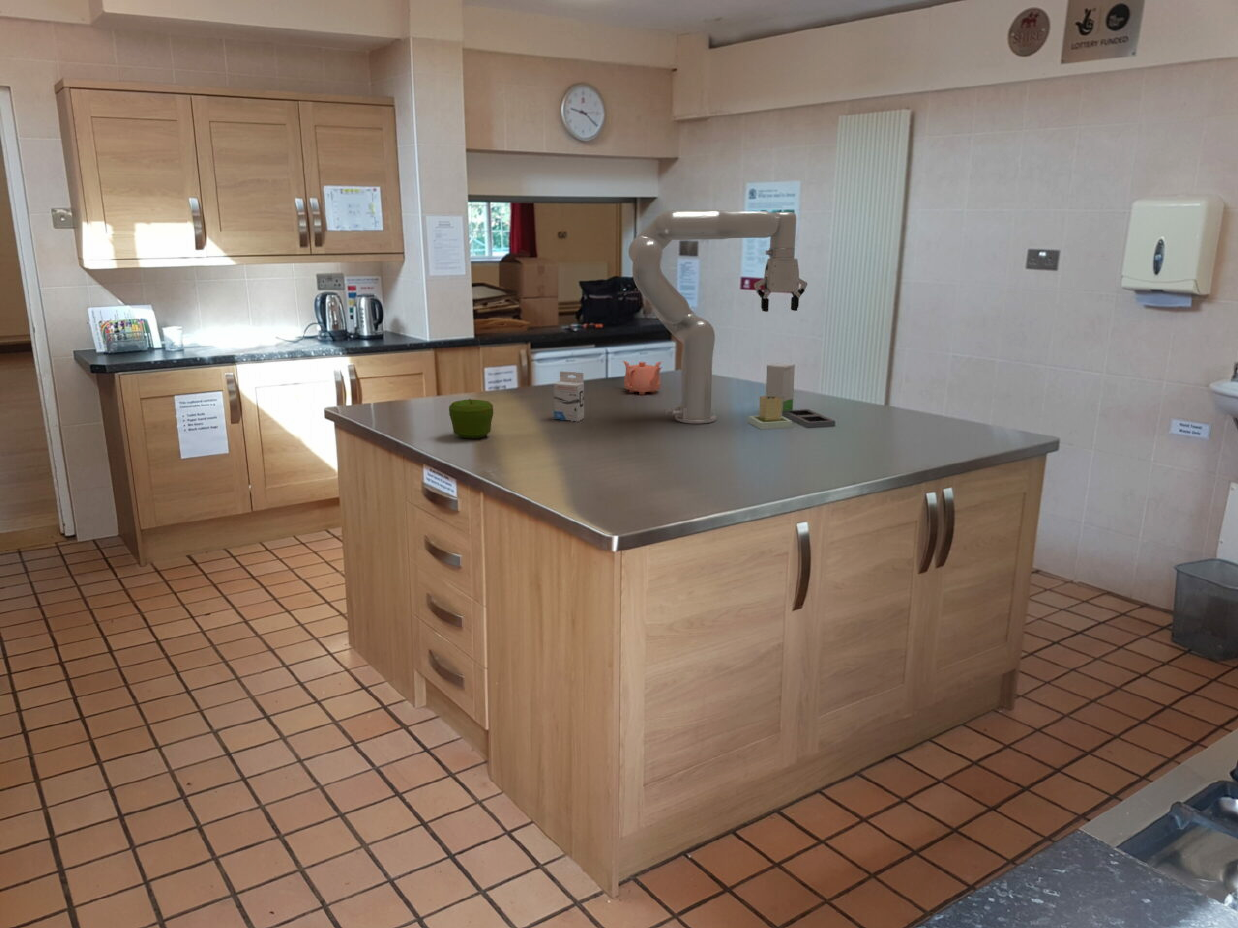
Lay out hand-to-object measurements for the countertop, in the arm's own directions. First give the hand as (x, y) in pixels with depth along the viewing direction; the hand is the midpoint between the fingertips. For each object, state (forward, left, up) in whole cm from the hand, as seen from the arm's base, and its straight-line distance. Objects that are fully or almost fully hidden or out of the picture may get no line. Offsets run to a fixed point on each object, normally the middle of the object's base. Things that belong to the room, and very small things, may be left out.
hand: (779, 310), depth 285 cm
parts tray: (-8, -13, -33) cm, 37 cm away
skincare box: (+4, +6, -34) cm, 34 cm away
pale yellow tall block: (-8, -13, -33) cm, 36 cm away
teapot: (-28, +51, -34) cm, 67 cm away
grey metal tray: (+6, -11, -33) cm, 36 cm away
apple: (-96, -2, -34) cm, 102 cm away
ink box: (-64, +13, -34) cm, 73 cm away
